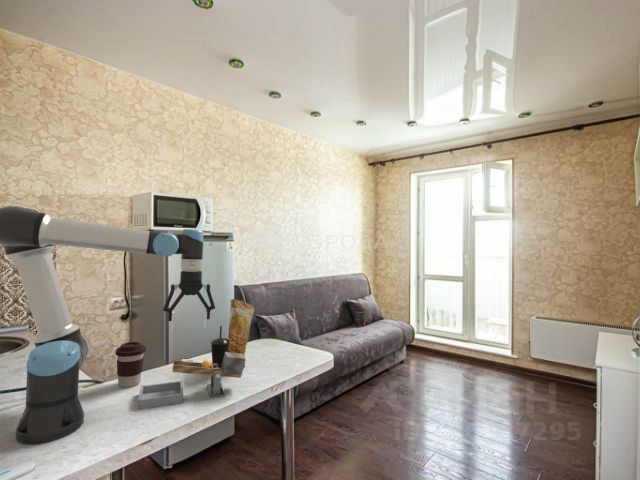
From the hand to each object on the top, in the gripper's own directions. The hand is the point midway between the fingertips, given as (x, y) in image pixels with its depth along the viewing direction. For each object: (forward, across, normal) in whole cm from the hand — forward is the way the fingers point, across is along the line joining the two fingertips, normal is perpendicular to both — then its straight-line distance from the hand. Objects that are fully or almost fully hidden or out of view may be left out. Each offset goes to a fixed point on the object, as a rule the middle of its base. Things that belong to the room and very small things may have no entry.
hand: (188, 328), depth 124 cm
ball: (+12, +6, -6) cm, 15 cm away
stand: (+22, +10, -6) cm, 25 cm away
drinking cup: (+22, +13, +9) cm, 27 cm away
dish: (+22, -8, -6) cm, 24 cm away
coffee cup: (+22, -20, +10) cm, 31 cm away
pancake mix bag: (+22, +22, +19) cm, 36 cm away
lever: (+15, +7, -4) cm, 17 cm away
